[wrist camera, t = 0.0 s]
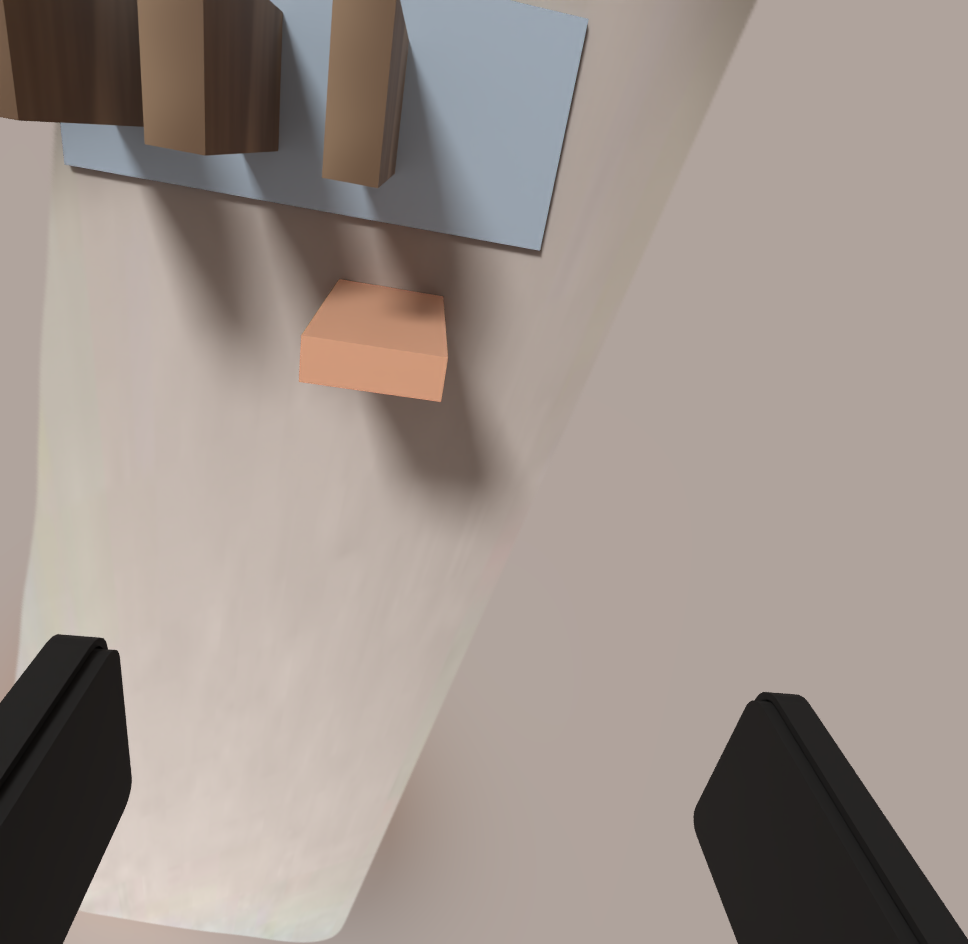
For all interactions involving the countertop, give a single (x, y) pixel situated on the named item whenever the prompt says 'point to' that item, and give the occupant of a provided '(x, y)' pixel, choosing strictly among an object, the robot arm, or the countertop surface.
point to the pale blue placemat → (402, 124)
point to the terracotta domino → (377, 342)
